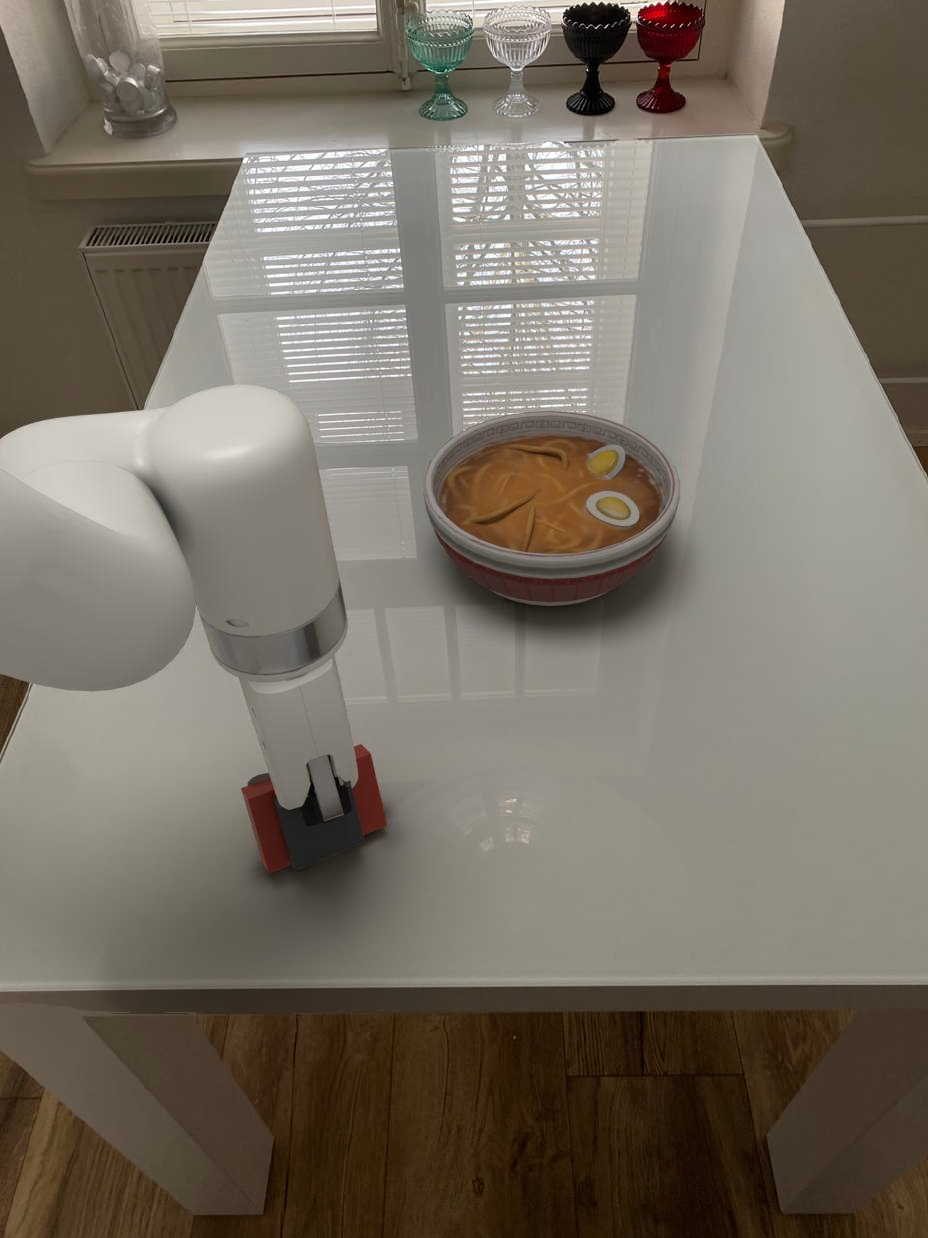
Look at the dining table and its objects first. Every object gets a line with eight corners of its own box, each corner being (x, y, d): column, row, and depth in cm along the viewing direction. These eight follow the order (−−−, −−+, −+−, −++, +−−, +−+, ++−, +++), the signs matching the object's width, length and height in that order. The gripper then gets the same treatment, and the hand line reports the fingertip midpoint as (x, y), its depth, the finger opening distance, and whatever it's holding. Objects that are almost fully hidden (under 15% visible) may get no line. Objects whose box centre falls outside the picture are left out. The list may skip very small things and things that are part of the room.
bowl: (698, 525, 95) (712, 440, 89) (620, 678, 81) (630, 589, 74) (490, 472, 103) (489, 390, 96) (385, 602, 89) (375, 516, 82)
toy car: (275, 886, 65) (254, 810, 63) (258, 855, 69) (237, 782, 67) (396, 836, 68) (380, 762, 66) (372, 809, 72) (356, 738, 70)
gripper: (182, 550, 56) (248, 747, 68) (233, 734, 45) (299, 926, 58) (307, 516, 57) (349, 715, 70) (383, 686, 47) (415, 883, 60)
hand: (326, 810), depth 64 cm, fingers closed
